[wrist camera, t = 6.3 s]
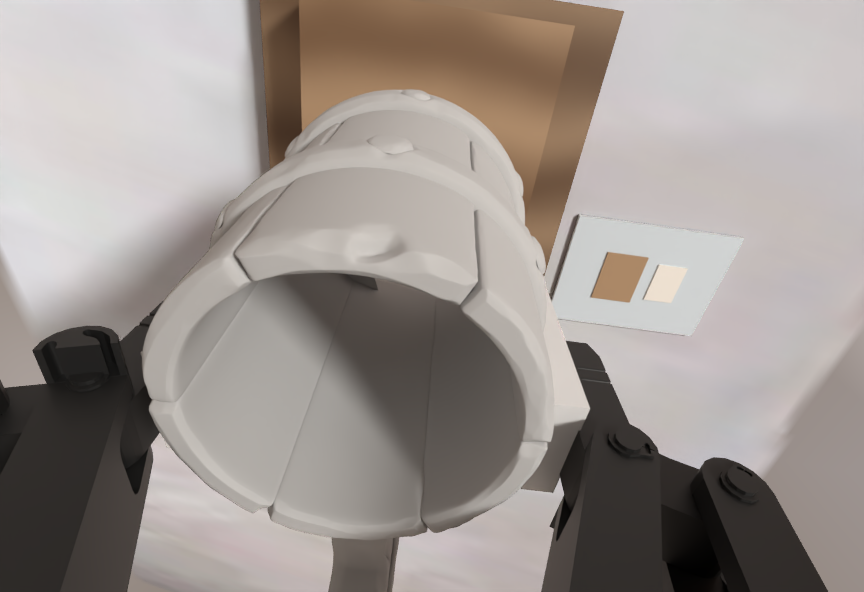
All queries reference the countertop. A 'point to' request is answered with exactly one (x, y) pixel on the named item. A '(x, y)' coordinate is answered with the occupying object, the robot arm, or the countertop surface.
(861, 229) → the countertop surface
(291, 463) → the mug
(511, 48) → the plinth
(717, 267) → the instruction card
